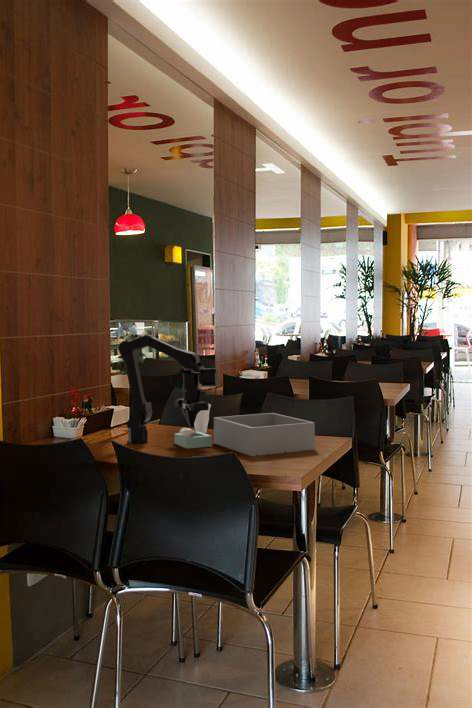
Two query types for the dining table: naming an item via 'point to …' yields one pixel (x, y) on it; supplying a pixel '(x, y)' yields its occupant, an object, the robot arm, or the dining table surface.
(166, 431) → the dining table surface
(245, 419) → the frame
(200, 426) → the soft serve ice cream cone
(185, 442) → the teal rectangular tray
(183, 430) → the bottle
